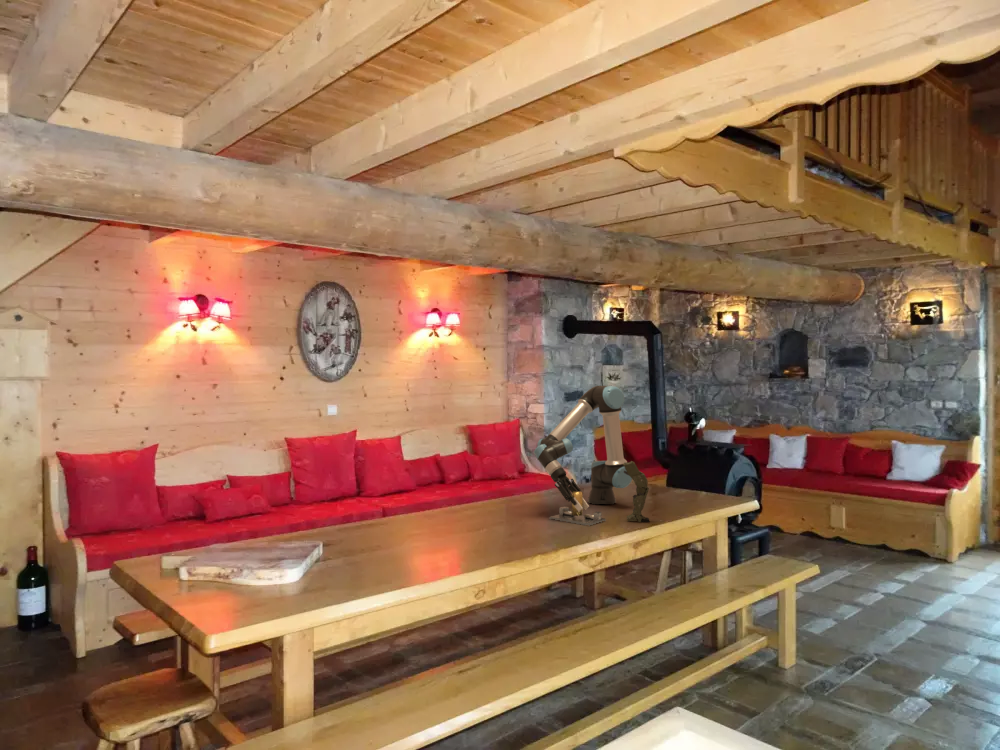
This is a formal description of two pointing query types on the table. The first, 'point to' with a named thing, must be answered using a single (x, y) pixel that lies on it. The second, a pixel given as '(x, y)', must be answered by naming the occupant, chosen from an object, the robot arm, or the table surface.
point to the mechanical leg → (641, 491)
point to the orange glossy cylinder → (579, 498)
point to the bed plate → (578, 517)
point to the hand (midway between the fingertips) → (583, 508)
